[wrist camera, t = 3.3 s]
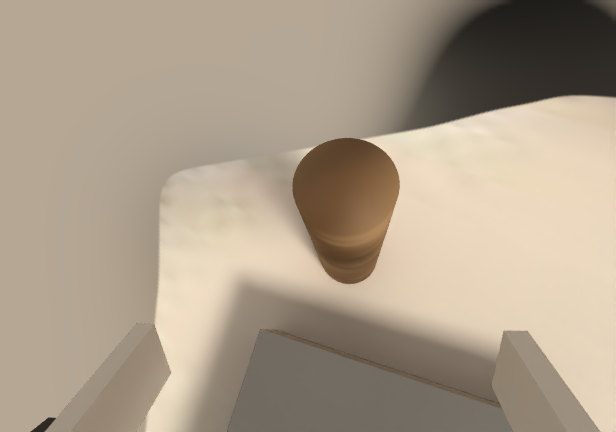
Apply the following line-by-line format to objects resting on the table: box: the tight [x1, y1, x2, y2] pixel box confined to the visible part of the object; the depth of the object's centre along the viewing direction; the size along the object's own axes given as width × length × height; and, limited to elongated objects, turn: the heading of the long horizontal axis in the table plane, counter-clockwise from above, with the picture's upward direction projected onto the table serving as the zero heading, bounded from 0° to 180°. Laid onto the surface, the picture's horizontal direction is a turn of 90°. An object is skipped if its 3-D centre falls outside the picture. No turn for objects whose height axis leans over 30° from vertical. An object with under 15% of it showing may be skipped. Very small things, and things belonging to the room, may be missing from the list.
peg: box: [293, 138, 400, 284], centre depth 19 cm, size 4×4×13 cm
